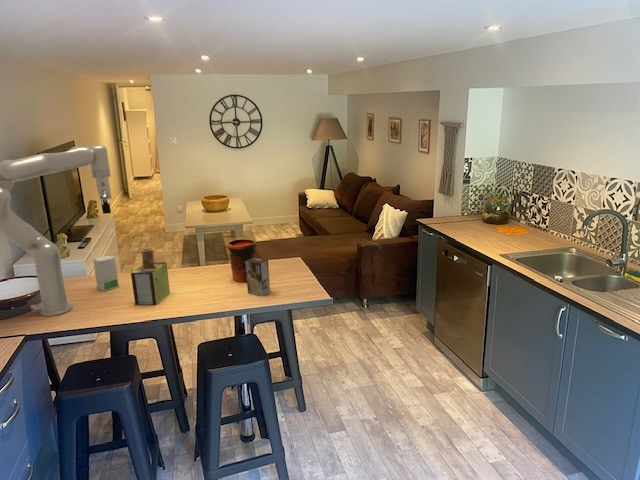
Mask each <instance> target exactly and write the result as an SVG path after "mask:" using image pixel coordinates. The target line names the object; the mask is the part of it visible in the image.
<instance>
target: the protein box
mask: <svg viewBox="0 0 640 480" xmlns="http://www.w3.org/2000/svg"><path fill="white" fill-rule="evenodd" d="M167 264H168V263H167V261H154V266H155V268H148V269H144V267H143V263H142V264H141V265H139V266H138V267H137V268H135V269H134V270H133V271H131V272H130V277H131V284H132V291H133V298H134V305H138V306H139V305H140V306H141V305H142V306H143V305H144V306H146V305H147V306H157V305H159V304H160V302H161V301H162V300H164V299H165V298H166V297H167V296H168V295H169V294H170V293H171V290H170V289H171V288H170V282H169V272H168V265H167Z"/></svg>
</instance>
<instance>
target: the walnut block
mask: <svg viewBox="0 0 640 480" xmlns="http://www.w3.org/2000/svg"><path fill="white" fill-rule="evenodd" d="M140 252H141V259H142V261H141V262H142V264H143V267H144V269H148V268H155V266H154V262H155V259H154V250H153V248H152V247H151V248H143V249H140Z"/></svg>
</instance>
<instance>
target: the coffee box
mask: <svg viewBox="0 0 640 480" xmlns="http://www.w3.org/2000/svg"><path fill="white" fill-rule="evenodd" d="M245 262H246V275H247V284H246V285H247V286H246V287H247V293H248V294H251V295H256V296H261V297H264V296H265V295H268V294H269V293H271V288H270V284H271V283H270V273H269V270H270V269H269V259H265V258H257V257H254V258H251V259H249V260H247V261H245Z"/></svg>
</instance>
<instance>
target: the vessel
mask: <svg viewBox="0 0 640 480" xmlns="http://www.w3.org/2000/svg"><path fill="white" fill-rule="evenodd" d="M256 246H257V243H256V241H255V240H253V239H250V238H237V239H231V240H229V241H227V243H226V248H227V249H228V250H229V254H230V255H229V256H230V257H229V258H230V265H231V266H230V268H231V273H232V274H231V275H232V278H231V279H230V280H231V282H232V283H233V284H236V285H247V275H246V262H245V261H247V260H249V259H251V258H255V257H254V255H255V253H256V251H255V249H256Z"/></svg>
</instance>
